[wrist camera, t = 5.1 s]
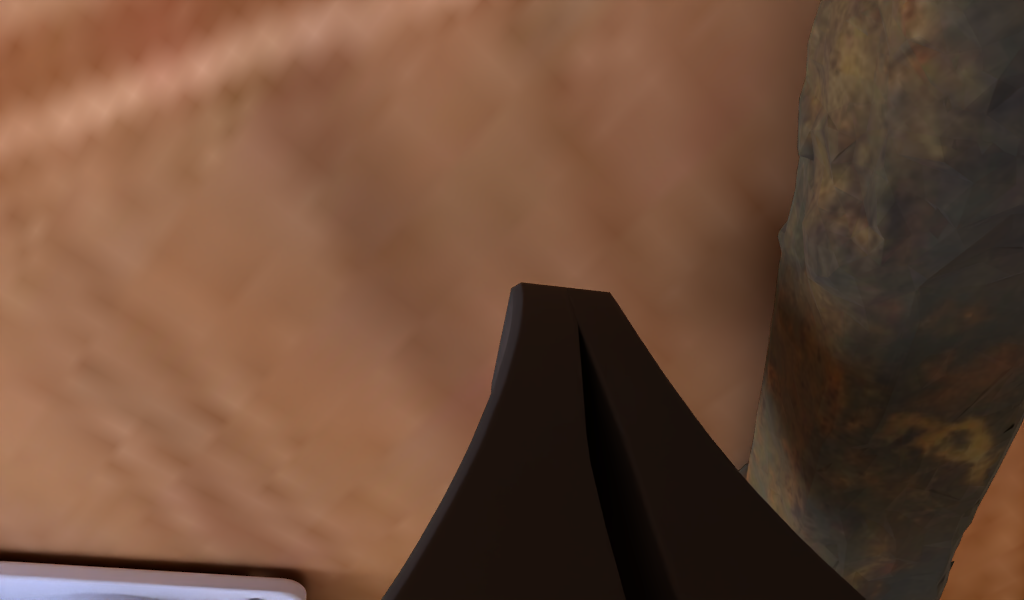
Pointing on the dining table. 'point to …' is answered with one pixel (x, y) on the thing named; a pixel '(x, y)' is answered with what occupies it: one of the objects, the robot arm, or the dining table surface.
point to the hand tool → (898, 289)
